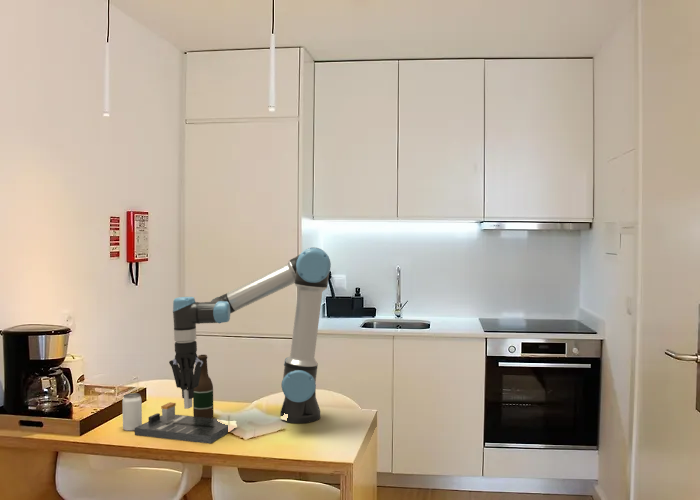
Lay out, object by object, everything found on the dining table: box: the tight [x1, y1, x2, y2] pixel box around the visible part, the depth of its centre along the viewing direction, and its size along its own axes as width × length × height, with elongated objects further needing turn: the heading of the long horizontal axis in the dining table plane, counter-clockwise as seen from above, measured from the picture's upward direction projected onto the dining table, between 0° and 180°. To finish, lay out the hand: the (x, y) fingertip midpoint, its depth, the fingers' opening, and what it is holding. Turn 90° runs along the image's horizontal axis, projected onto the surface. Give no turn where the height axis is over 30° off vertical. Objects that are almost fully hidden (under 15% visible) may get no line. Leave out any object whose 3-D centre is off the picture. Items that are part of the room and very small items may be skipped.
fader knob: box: [161, 402, 177, 423], centre depth 223 cm, size 2×5×6 cm, turn 161°
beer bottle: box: [192, 354, 214, 418], centre depth 235 cm, size 8×8×24 cm
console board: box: [134, 412, 229, 445], centre depth 220 cm, size 30×18×4 cm, turn 71°
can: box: [122, 392, 143, 432], centre depth 224 cm, size 6×6×12 cm
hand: (188, 407), depth 220 cm, fingers closed
